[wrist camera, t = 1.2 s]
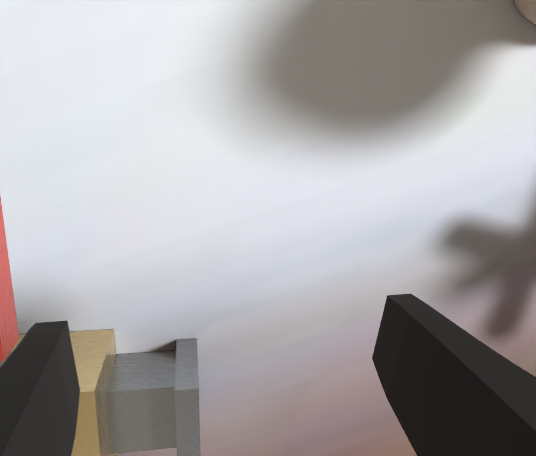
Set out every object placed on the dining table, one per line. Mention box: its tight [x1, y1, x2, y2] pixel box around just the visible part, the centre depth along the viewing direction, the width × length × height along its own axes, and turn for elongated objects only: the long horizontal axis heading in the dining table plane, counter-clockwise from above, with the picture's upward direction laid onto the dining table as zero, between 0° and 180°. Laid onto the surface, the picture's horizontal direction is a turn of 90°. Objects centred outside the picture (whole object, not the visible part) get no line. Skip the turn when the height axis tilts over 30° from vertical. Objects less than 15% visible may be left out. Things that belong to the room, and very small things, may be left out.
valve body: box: [12, 329, 200, 456], centre depth 20 cm, size 6×14×6 cm, turn 89°
